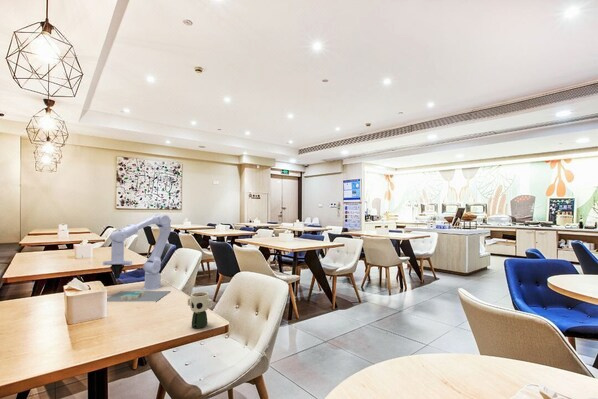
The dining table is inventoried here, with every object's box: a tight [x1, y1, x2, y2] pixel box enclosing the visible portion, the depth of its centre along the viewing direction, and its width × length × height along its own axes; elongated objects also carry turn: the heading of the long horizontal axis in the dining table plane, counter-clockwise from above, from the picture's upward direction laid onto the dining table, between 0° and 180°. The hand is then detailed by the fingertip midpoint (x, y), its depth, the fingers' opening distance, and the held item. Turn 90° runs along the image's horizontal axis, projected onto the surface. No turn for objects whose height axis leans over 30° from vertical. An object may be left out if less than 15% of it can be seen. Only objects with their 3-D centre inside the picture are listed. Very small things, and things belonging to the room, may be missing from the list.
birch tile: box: [121, 290, 145, 300], centre depth 157 cm, size 9×2×8 cm
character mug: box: [187, 291, 213, 329], centre depth 121 cm, size 11×7×13 cm, turn 78°
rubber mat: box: [106, 290, 171, 303], centre depth 159 cm, size 18×28×1 cm, turn 92°
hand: (117, 278), depth 161 cm, fingers closed
